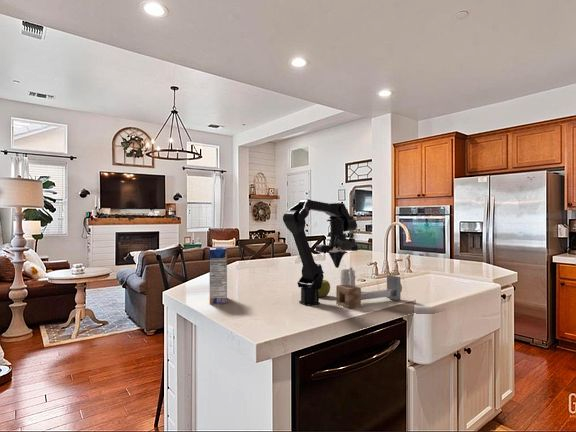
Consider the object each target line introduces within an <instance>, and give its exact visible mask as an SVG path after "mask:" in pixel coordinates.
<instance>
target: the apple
mask: <svg viewBox="0 0 576 432" xmlns="http://www.w3.org/2000/svg"><path fill="white" fill-rule="evenodd" d="M318 291H319V298H323V297H326V296H328V295H329V293H330V291H331V284H330V282H329V281H328V280H327V279H323V282H322V286H321V289H318Z"/></svg>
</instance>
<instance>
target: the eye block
mask: <svg viewBox="0 0 576 432" xmlns="http://www.w3.org/2000/svg"><path fill="white" fill-rule="evenodd" d="M335 291H336V297H335V298H336V300H335V301H336V305H337V304H338V305H337V306H340V305H341V306H340V307H342V306H343V308H345V307H346V308H345V309H347V308H350V309H355V308H354V307H358V308H362V300H361V292H362V288H361V287H360V286H356V285H355V286H353V285H349V284H347V285H341V284H339V285H338V284H337V285H336V290H335Z"/></svg>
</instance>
